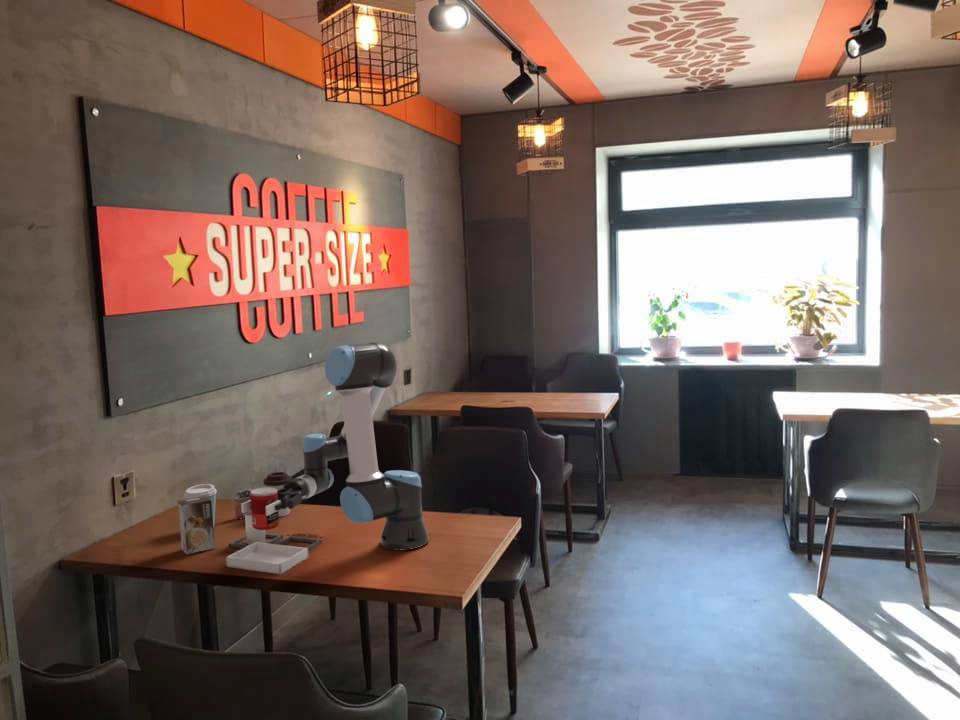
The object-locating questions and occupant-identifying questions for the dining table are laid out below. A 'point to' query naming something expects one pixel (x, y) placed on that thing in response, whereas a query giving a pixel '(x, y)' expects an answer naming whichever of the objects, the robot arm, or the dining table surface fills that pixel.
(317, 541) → the rectangular frames
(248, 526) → the salt shaker
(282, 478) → the coffee cup
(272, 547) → the tray
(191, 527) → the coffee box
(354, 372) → the robot arm
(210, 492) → the disposable coffee cup
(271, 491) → the canned food
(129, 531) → the dining table surface
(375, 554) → the dining table surface
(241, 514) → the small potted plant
